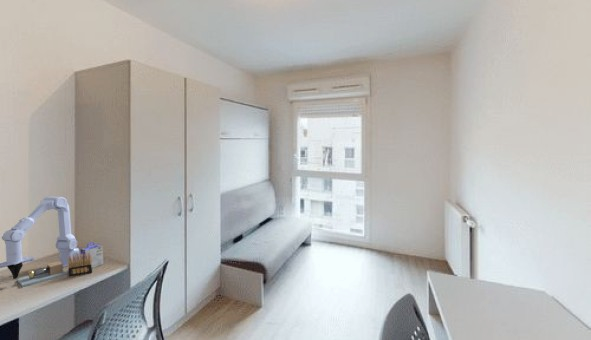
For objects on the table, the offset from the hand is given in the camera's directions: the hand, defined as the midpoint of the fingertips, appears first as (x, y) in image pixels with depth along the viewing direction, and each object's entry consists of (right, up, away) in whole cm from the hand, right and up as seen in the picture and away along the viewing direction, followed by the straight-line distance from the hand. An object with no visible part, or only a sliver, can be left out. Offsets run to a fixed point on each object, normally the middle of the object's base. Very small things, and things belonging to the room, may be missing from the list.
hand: (15, 278), depth 142 cm
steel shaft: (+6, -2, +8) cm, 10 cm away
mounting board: (+6, -3, +9) cm, 11 cm away
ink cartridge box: (+22, -3, +24) cm, 33 cm away
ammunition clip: (+23, -4, +14) cm, 27 cm away
